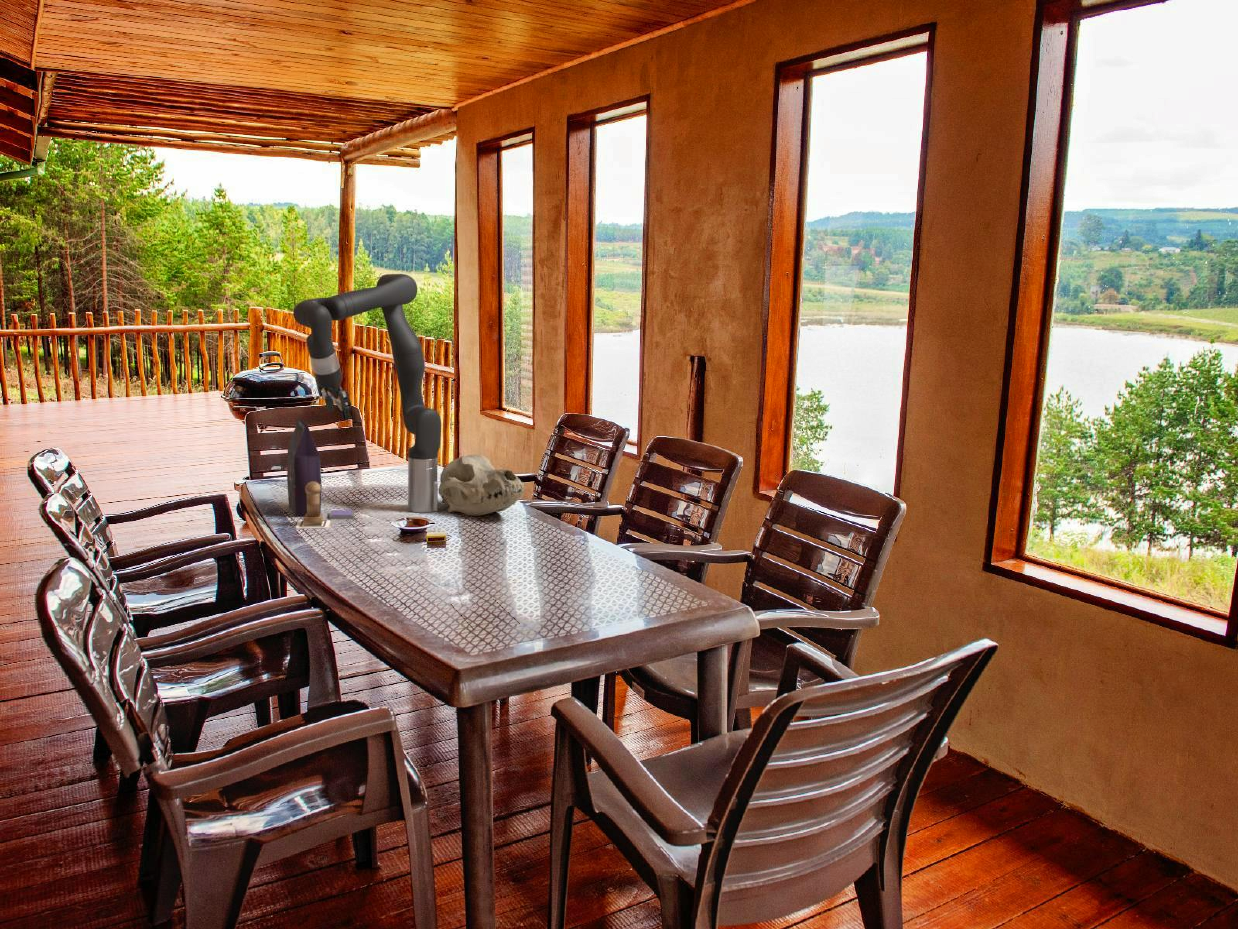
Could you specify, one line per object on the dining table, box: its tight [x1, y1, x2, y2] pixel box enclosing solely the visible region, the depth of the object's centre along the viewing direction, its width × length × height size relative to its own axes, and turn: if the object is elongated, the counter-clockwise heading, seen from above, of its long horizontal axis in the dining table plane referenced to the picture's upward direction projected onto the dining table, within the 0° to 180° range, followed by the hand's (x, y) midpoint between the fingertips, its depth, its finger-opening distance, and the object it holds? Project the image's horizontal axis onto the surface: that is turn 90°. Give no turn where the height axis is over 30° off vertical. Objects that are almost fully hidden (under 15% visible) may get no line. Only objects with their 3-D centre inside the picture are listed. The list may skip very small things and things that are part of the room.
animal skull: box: [438, 453, 525, 517], centre depth 301 cm, size 22×35×22 cm, turn 52°
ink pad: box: [328, 509, 355, 520], centre depth 289 cm, size 7×7×1 cm
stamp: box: [303, 481, 324, 526], centre depth 276 cm, size 5×5×13 cm
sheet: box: [295, 519, 331, 530], centre depth 278 cm, size 9×8×1 cm
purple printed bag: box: [286, 419, 323, 518], centre depth 292 cm, size 8×16×28 cm, turn 27°
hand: (339, 414), depth 279 cm, fingers open, 8 cm apart
